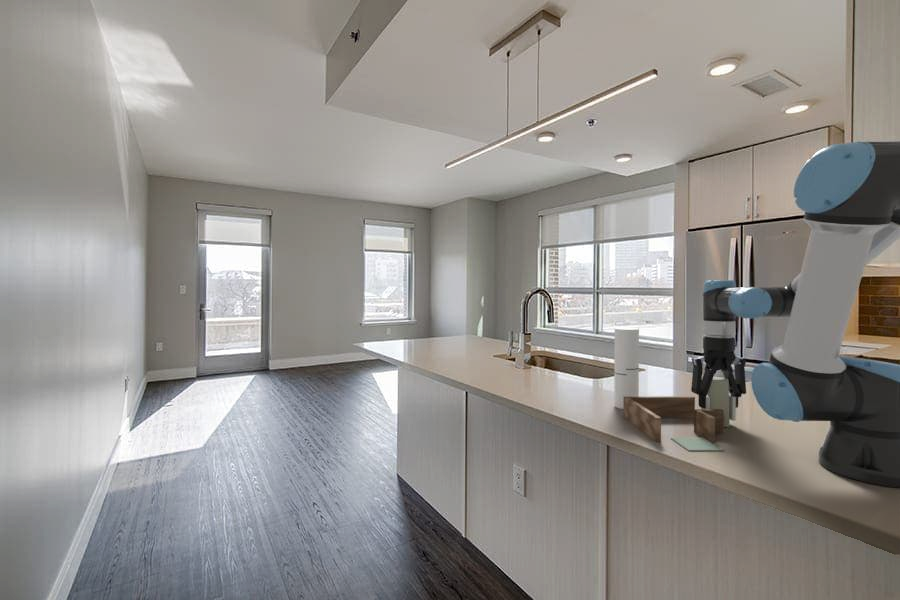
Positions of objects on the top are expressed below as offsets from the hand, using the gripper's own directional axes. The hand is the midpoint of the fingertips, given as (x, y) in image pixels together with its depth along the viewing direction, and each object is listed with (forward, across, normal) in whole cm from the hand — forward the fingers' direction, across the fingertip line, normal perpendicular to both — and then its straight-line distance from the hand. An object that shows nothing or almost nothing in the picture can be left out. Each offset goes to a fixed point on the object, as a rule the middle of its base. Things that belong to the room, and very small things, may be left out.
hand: (718, 419), depth 117 cm
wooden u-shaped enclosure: (+1, +13, +3) cm, 13 cm away
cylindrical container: (+2, +18, -18) cm, 26 cm away
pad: (+1, +14, +15) cm, 21 cm away
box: (+2, 0, 0) cm, 2 cm away
